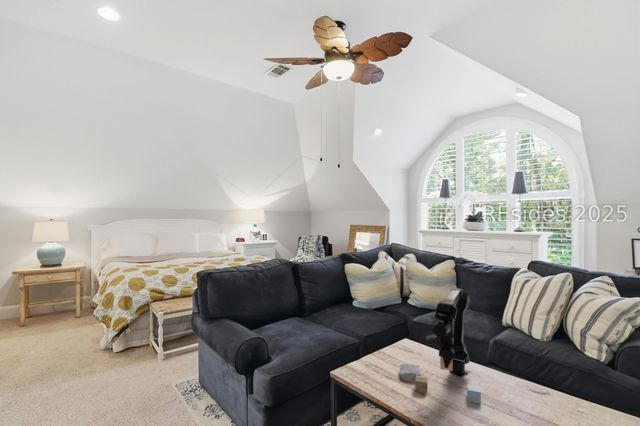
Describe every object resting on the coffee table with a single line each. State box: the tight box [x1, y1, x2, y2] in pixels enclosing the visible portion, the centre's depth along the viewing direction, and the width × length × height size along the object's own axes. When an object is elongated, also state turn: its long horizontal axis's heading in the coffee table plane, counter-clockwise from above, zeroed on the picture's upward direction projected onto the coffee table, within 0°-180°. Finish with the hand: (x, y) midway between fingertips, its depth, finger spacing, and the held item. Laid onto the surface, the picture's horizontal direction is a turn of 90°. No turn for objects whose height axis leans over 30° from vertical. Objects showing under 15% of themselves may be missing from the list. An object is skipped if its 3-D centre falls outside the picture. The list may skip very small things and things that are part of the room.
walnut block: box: [414, 375, 429, 394], centre depth 150 cm, size 5×5×5 cm
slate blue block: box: [466, 383, 482, 405], centre depth 142 cm, size 5×5×5 cm
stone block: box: [399, 363, 422, 382], centre depth 163 cm, size 12×5×10 cm
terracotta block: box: [439, 356, 453, 371], centre depth 147 cm, size 5×5×5 cm
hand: (446, 364), depth 147 cm, fingers closed on terracotta block, 5 cm apart
